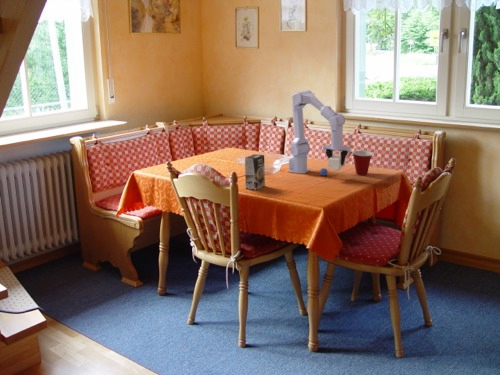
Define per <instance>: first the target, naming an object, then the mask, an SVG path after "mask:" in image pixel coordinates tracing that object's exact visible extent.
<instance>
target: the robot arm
mask: <svg viewBox="0 0 500 375" xmlns="http://www.w3.org/2000/svg"><path fill="white" fill-rule="evenodd" d="M291 98H292V99H291V100H292V104H291V108H292V109H291V110H292V112H291V113H292V122H293V124H292V126H293V134H294V135H293V136H294V137H293V140H292V141H291V142H290V153H291V155H290V156H289V159H288V173H295V174H306V173H308V172H310V170H311V169H309V168H308V154H309V153H310V151H311V147H310V143H309V140H308V139H307V138H306V136H305V135H306V134H305V124H304V112H303V111H304V110H303V108H305V106H306V105H308V104H309V105H311V106H313V107H314V108H315V109H316V110H318V111H319V112H320V115H321V116H322V117H323V118H324V119H325V120H326V121H328V123H329V126H330V130H331V131H330V132H331V133H330V134H331V136H330V142H331V143H330V145H323V146H322V150H323V151H325V155H326V156H327V160H328V159H329V158H330V157H332V156H333V153H334V151H335V152H336V151H337V152H340V155H341V165H344V161H345V162H346V158H347V156H348V154H349V153H350V152H352V147H348V146H343V143H344V142H343V139H344V138H343V136H344V134H343V132H344V130H343V129H344V127H343V126H344V125H345V123H346V117H345V116H344V115H343V114H342V113H338V111H335V110H333V109H332V107H331V105H325V104H323V102H321V101H320V100H319V99H318V97H316V96H315V93H313V92H312V91H311V90H309V89H308V90H303V91H297V92H295V93H293V95H292V97H291Z"/></svg>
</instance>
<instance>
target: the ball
mask: <svg viewBox="0 0 500 375" xmlns="http://www.w3.org/2000/svg"><path fill="white" fill-rule="evenodd" d="M319 173H320V175H321V176H323V177H325V176H327V175H328V169H327V168H325V167H324V168H321V169H320V170H319Z"/></svg>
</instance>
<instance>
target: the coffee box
mask: <svg viewBox="0 0 500 375" xmlns="http://www.w3.org/2000/svg"><path fill="white" fill-rule="evenodd" d="M244 168H245V169H244V171H245V172H244V173H245V174H244V176H245V189H246V188H248V189H247V190H252V189H254V190H253V191H257V190H259V189H261V188H264V187H265V186H266V171H265V169H266V168H265V154H255V153H253V154H251V155H249V156H246V157H244ZM263 186H264V187H263ZM256 189H257V190H256Z"/></svg>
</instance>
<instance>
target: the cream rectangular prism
mask: <svg viewBox="0 0 500 375" xmlns="http://www.w3.org/2000/svg"><path fill="white" fill-rule="evenodd" d="M327 160H328V161H327V162H328V163H327V164H328V165H327V170H335V171H337V170H338V171H339V170H340V169H342V168H344V167H346V160H345V161H344V165H341V154H334V155H333V154H332V157H330V158H329V159H328V158H327Z"/></svg>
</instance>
